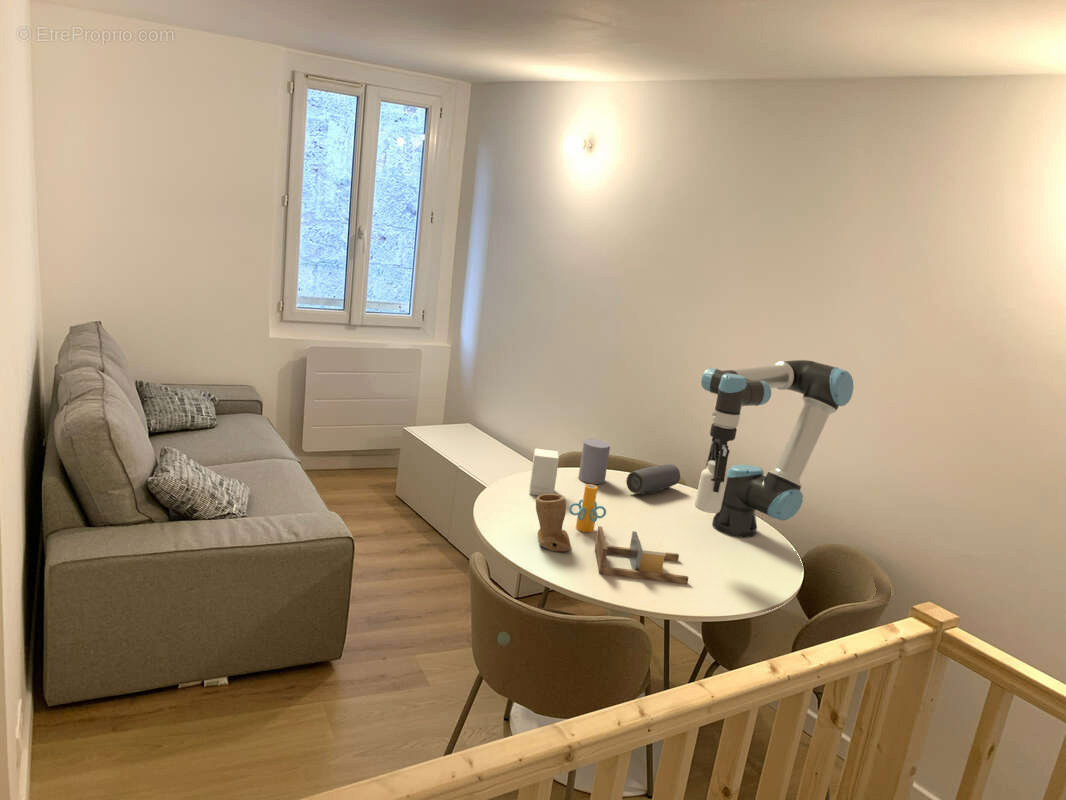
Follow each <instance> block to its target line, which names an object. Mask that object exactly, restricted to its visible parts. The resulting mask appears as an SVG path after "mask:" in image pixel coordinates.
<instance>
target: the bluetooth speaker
mask: <svg viewBox="0 0 1066 800" xmlns="http://www.w3.org/2000/svg"><path fill="white" fill-rule="evenodd" d="M680 480H681V473H680V469H679V468H678V466H676V465H675V464H671V463H668V464H666V463H665V464H661V465H654V466H649V467H645V468H640V469H637V470H634V471H632V472H630V473H629V474H628V475H627V477H626V480H625V482H626V486H627V489H628V490H629V491H630V492H631V493H633V494H644V495H652V494H656V493H659V492H661V491H663V490H664V489H667V488H670V487H672V486H675V485H677V484H678V483H679V482H680Z"/></svg>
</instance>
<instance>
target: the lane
mask: <svg viewBox="0 0 1066 800" xmlns="http://www.w3.org/2000/svg"><path fill="white" fill-rule="evenodd" d="M597 527H598V528H597V534H596V540H595V547H594V554H595V558H596V564H597V565H596V566H597V569H598V574H599V575H603V576H612V577H613V576H614V577H621V578H622V577H623V578H629V579H631V578H632V579H640V580H646V581H647V580H648V581H656V582H663V583H664V582H665V583H666V582H667V583H673V584H674V583H676V584H681V585H683V584H684V585H688V583H689V576H688V575H682V574H681V575H680V574H672V573H663V572H662V573H656V572H648V571H639V570H633V569H632V568H631V569H630V568H629V569H627V568H621V567H620V568H619V567H612V566H606V559H607V555H608V554H611V555H612V554H613V555H618V556H619V555H620V556H628V557H629V549H630V547H622V546H614V545H607V542H606V537H605V532H604V527H603V526H597ZM665 552H666V551H665ZM679 556H680V555H679V553H673V552H666V554H665V557H664V561H671V562H679Z"/></svg>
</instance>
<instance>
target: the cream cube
mask: <svg viewBox="0 0 1066 800" xmlns="http://www.w3.org/2000/svg"><path fill="white" fill-rule="evenodd" d="M639 541H640V544H641V547H642V556H641V562H640V567H639V571H648V572H656V573H663V567H664V562H665V560H664V557H665V554H666V550H665V547H664V545H663V542H657V541H652V540H651V541H649V540H642V539H639Z"/></svg>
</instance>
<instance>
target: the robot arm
mask: <svg viewBox="0 0 1066 800" xmlns="http://www.w3.org/2000/svg"><path fill="white" fill-rule="evenodd" d="M700 384H701V387H702V389H703V390H704V391H706V392H709V393H710V394H714V395H717V398H716V402H715V403H716V404H715V407H714V412H712V413H711V416H712V422H713V423H711V426H710V432H709V435H710V437H712V438H711V445H710V448H709V453H708V458H707V459H706V464H705V466H706V467H707V465H708V462H709V461H711V460H714V461H715V470H714V478H713V479H711V481H712V484H711V489H710V493H709V498H708V501H713V502H718V497H719V492H720V487H721V483H722V482H724V478H725V474H726V471H727V474H726V475H727V483H726V487H725V492H724V497H723V501H722V506H721V510H720V512H718V513H714V514H715V515H714V516H713V518H712V524H711V525H712V527H713V528H714V529H716V530H717V531H719V532H720V533H723V534H724V535H728V536H732V537H737V538H751V537H754V536H755V535H756V534H757V529H758V524H757V517H756V511H758V512H760V513H762V514H764V515H767V516H768V517H771V519H772V518H773V519H775V520H779V521H783V522H784V521H787V520H790V519H791V518H793V517H794V516H795V515H796V514H797V513H798V511H799V510H800V509H801V507H802V505H803V501H804V500H803V499H804V493H803V492H801V489H802V483H801V480H800V479H801V477H802V475H803V472H805V471H804V470H805V468H806V466H807V464H808V463H809V460H810V458H811V455H812V453H813V452H814V449H815V447H816V444H817V443H818V440H819V439H820V436H821V434H822V433H823V432H822V431H823V429H824V428H825V425H826V424H827V421H828V420H829V417H830V415H832V414H834V413H836V412H837V410H838V408H839V407H844V406H846V405H847V404H848V403H849V402H850V400H851V399H852V396H853V392H854V379H853V377H852V374H851V373H850V372H849V371H848V370H844V369H843V368H839V367H836V366H832V365H829V364H824V363H820V362H816V361H813V360H809V359H798V360H787V361H778V362H776V363H774V364H773V365H768V366H767V365H766V366H765V365H764V366H759V367H758V366H756V367H747V368H746V367H745V368H738V369H728V370H720V369H718V368H712V367H711V368H710V367H709V368H707V369H706V370H705V371H704V372H703V373H702V375H701V380H700ZM772 389H777V390H780V391H781V390H783V391H784V390H785V391H786V390H788V391H793V392H797V393H799V394H802V400H803V403H804V405H803V406H802V408H801V410H800V411H801V412H800V414H799V416H798V417H797V420H796V422H795V424H794V426H793V428H792V431H791V433H790V434H789V437H788V439H787V441H786V444H785V446H784V448H783V449H782V453H781V455H780V457H779V459H778V461H777V463H776V465H775V467H774V469H771V470H768V471H767V473H766V476H765V475H764V469H763V468H761V467H759V466H756V465H750V464H734V465H731V466H729V468H728V470H727V464H728V460H729V459H728V458H729V455H730V450H729V445H728V442H730V441H731V442H732V441H734V440H735V439H736V434H737V431H738V430H737V429H738V428H737V427H738V426H739V421H740V416H741V410H742V407H749V406H755V407H758V406H762V405H766V404H767V403H768V402H769V401H770V400H771V397H772ZM719 477H720V478H719Z"/></svg>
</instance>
